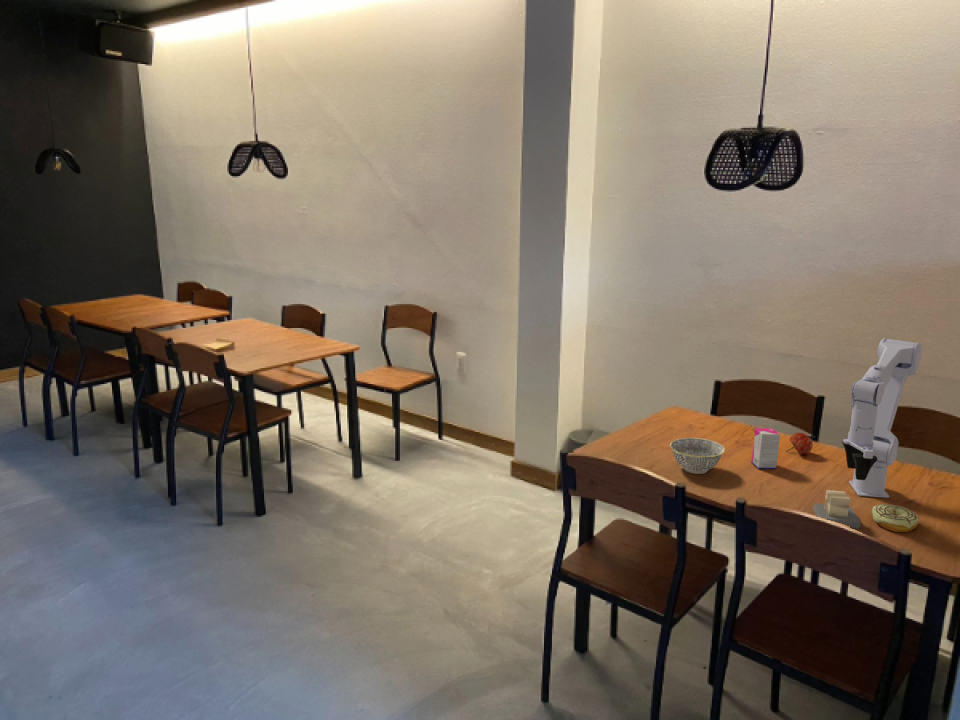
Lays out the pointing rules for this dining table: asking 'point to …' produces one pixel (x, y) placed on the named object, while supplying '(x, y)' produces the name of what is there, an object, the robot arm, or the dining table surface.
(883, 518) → the decorated donut
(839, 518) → the slate base
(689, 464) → the bowl
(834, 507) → the birch block
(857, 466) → the robot arm
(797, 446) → the red stemmed fruit
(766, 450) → the supplement box
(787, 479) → the dining table surface
